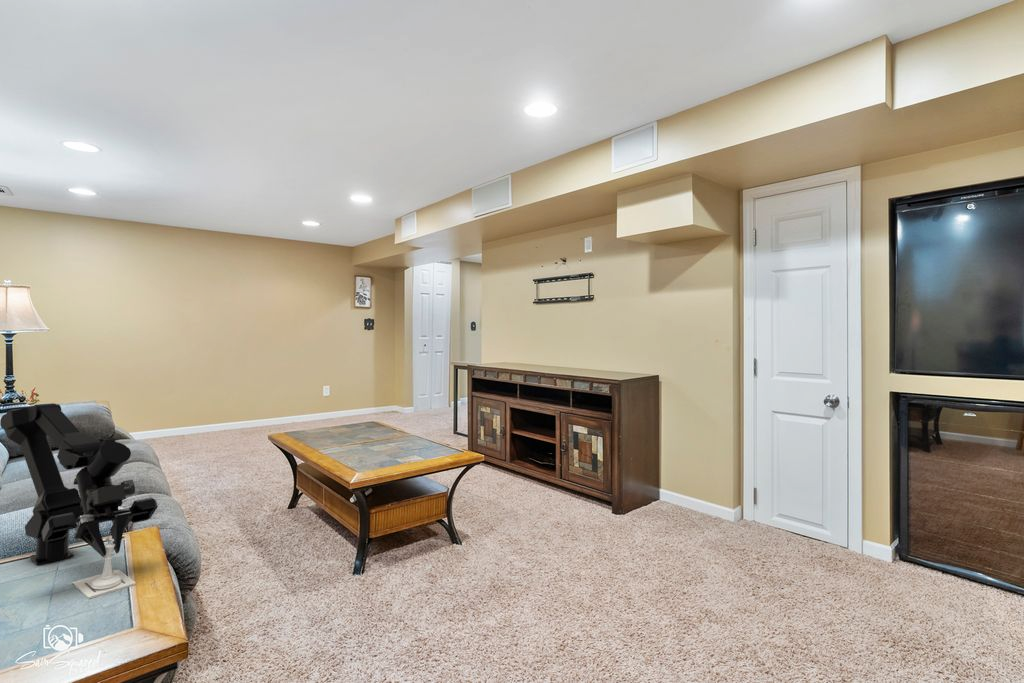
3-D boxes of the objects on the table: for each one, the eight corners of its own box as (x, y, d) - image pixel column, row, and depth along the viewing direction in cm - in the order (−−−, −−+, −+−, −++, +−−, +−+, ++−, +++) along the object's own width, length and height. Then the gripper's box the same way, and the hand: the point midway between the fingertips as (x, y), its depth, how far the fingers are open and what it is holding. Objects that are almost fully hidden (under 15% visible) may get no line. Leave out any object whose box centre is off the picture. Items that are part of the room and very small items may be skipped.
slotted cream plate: (72, 583, 106) (72, 581, 106) (118, 571, 112) (118, 569, 112) (88, 599, 100) (88, 597, 100) (135, 584, 107) (135, 582, 107)
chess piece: (104, 590, 102) (108, 541, 102) (84, 586, 103) (88, 538, 103) (127, 580, 107) (130, 533, 107) (108, 576, 108) (112, 530, 108)
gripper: (50, 477, 100) (63, 547, 94) (157, 462, 115) (174, 522, 109) (36, 507, 104) (48, 576, 98) (141, 489, 120) (157, 548, 113)
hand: (111, 553), depth 104 cm, fingers closed on chess piece
